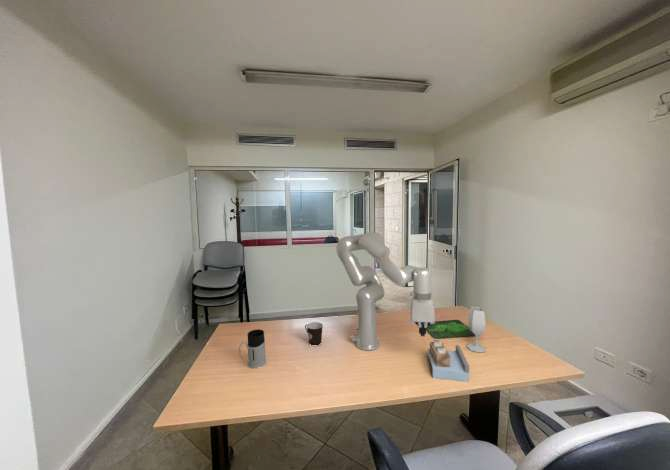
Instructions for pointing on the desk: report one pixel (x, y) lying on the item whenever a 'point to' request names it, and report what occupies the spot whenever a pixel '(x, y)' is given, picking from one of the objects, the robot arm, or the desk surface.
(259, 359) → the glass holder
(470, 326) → the wineglass
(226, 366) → the desk surface
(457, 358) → the shelf
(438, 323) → the mouse mat
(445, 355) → the brown block with knobs
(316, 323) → the coffee mug
